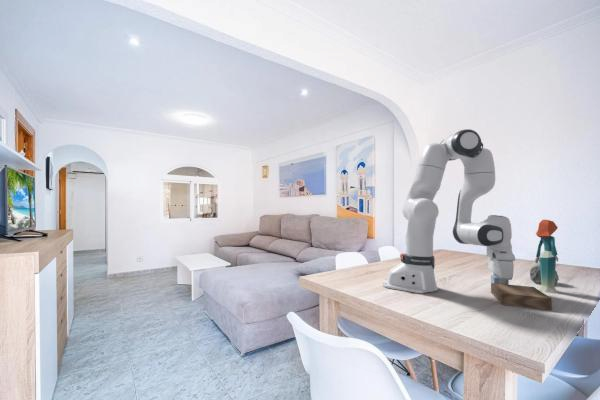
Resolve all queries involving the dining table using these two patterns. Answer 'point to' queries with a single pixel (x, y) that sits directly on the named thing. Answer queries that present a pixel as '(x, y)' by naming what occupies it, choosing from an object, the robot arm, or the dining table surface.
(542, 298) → the walnut pedestal
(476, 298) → the dining table surface
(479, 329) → the dining table surface
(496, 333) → the dining table surface
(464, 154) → the robot arm
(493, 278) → the slate block
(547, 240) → the sculpture
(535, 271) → the stone
